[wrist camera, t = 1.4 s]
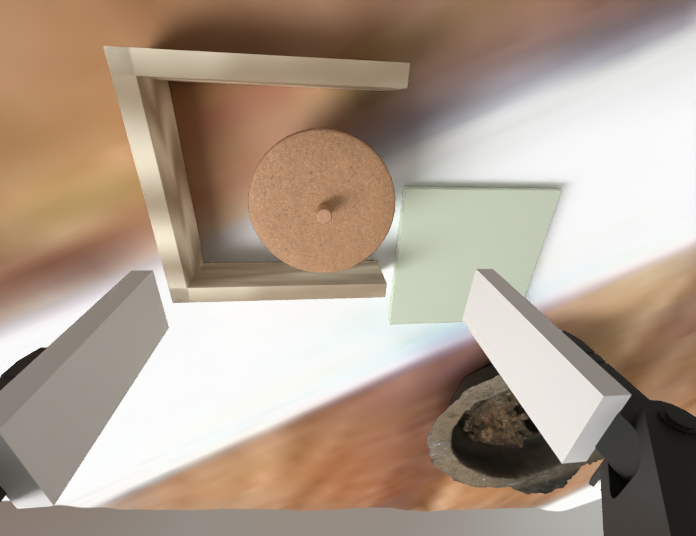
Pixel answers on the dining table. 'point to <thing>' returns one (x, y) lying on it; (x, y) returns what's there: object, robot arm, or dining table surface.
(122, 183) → the dining table surface
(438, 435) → the stone bowl
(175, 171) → the cubby
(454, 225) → the pad
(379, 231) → the lidded jar
